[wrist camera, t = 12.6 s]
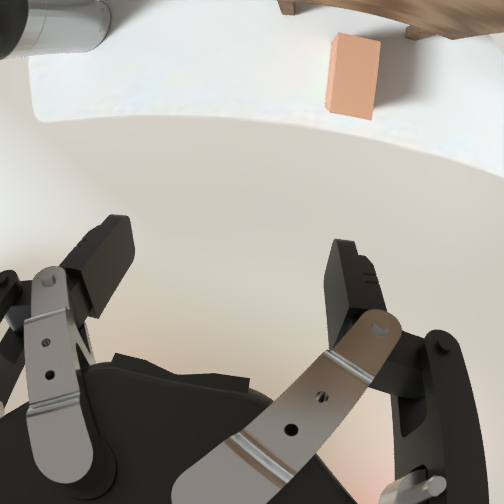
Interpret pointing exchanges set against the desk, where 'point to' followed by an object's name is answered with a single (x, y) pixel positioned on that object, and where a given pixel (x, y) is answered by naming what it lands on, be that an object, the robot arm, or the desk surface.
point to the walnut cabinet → (426, 15)
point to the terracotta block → (352, 76)
